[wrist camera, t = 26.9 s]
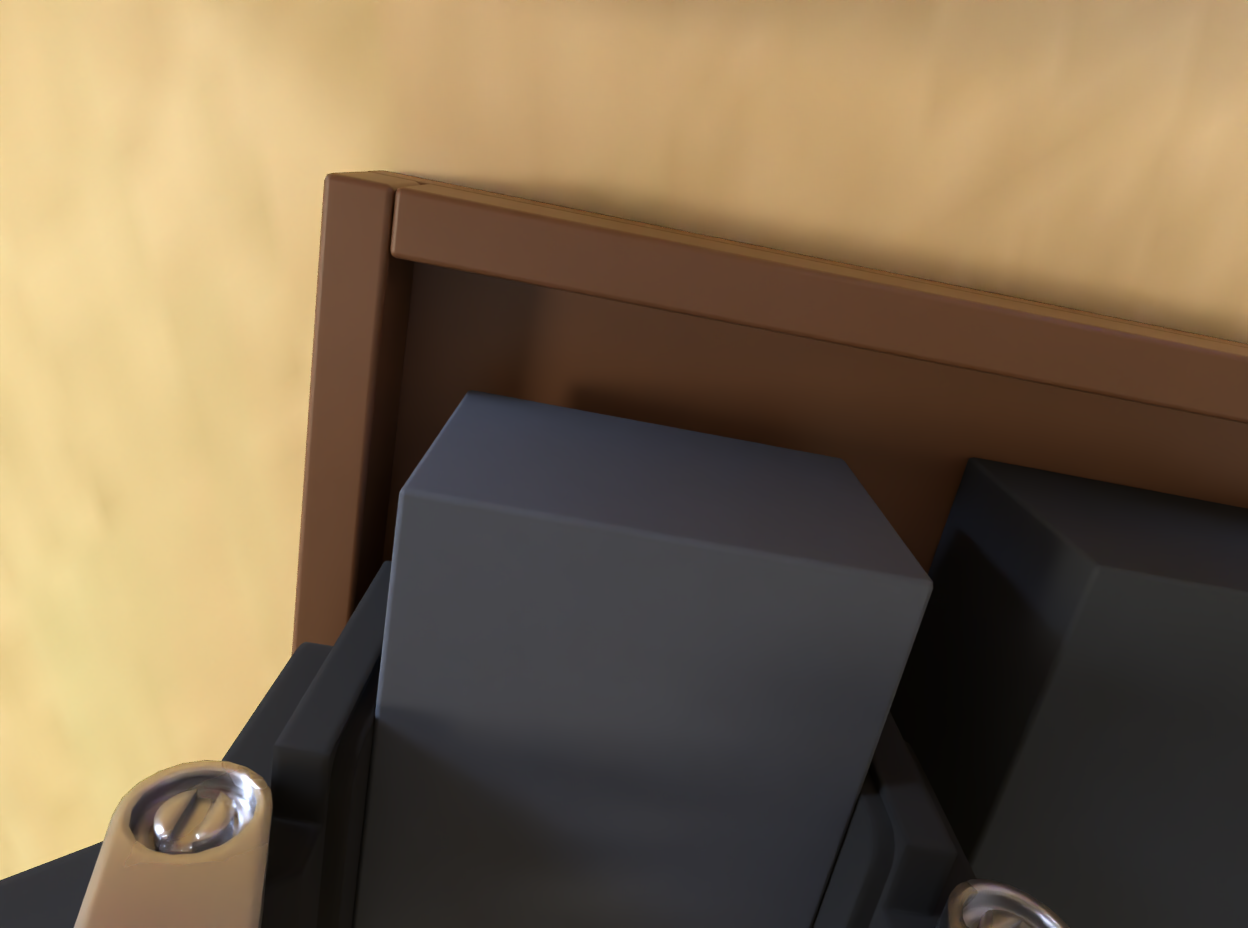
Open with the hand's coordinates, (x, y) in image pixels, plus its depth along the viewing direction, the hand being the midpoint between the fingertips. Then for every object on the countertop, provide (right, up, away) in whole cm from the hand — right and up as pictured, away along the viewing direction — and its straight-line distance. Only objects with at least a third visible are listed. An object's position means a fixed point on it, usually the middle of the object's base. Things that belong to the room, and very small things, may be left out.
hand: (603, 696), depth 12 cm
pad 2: (+7, -1, +2) cm, 7 cm away
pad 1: (0, 0, 0) cm, 0 cm away
